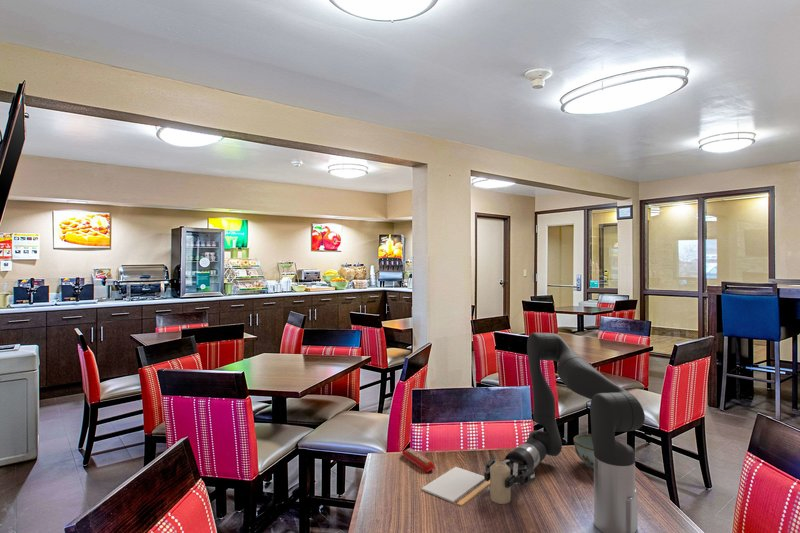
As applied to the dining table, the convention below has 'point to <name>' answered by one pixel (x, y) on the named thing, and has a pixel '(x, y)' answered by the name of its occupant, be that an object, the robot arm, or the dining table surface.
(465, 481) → the mat
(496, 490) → the candle
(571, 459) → the dining table surface
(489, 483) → the wooden stick
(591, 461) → the bowl
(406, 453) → the candy bar
